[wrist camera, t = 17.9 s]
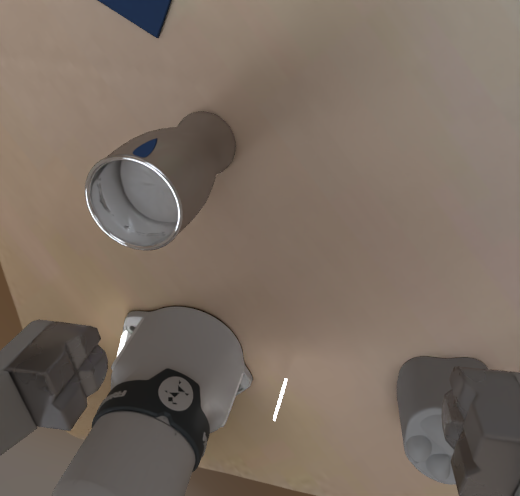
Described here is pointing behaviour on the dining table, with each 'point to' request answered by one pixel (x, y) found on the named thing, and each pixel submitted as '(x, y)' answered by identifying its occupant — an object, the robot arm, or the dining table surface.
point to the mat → (142, 12)
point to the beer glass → (159, 180)
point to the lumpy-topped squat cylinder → (427, 413)
